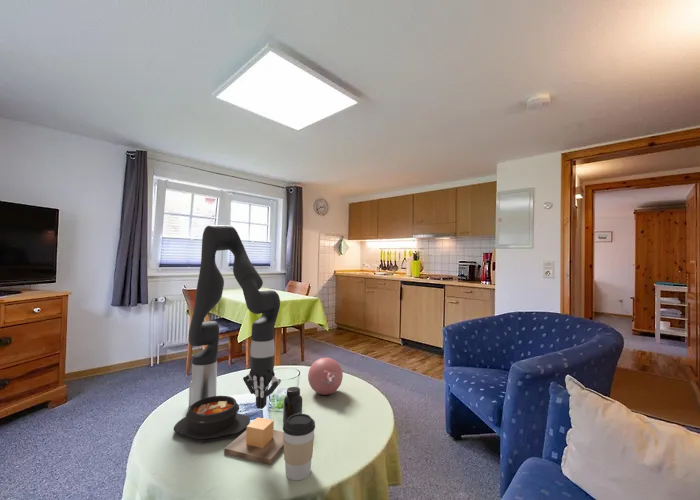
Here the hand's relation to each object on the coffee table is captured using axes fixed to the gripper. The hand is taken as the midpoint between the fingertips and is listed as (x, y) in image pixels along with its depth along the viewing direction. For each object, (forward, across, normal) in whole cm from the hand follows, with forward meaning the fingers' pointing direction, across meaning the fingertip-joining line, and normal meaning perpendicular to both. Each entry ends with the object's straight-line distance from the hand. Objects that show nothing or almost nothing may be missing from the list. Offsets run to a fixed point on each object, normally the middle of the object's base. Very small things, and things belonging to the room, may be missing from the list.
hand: (261, 407), depth 100 cm
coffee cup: (+12, +17, -7) cm, 22 cm away
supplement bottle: (+12, +3, +16) cm, 20 cm away
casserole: (+12, -21, +3) cm, 25 cm away
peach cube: (+11, 0, 0) cm, 11 cm away
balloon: (+12, +6, +41) cm, 43 cm away
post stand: (+12, 0, 0) cm, 12 cm away
